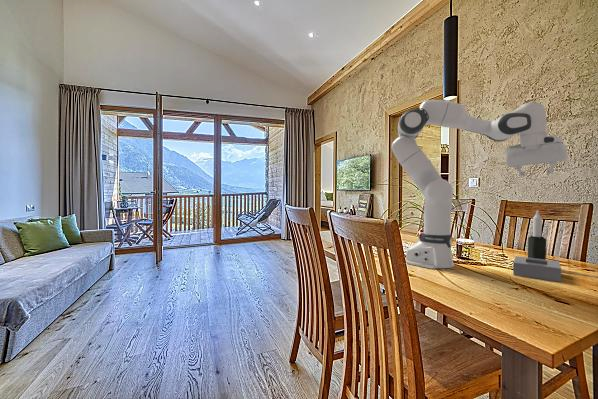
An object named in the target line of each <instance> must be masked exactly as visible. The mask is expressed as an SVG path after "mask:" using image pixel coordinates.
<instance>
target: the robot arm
mask: <svg viewBox="0 0 598 399" xmlns="http://www.w3.org/2000/svg"><path fill="white" fill-rule="evenodd" d="M547 123H548V121H547V112H546V108H545V105H543V103H540V102H528V103H527V102H526V103H523V104H521V105H520V106H519V107H518V108H515V110H513V111H510V112H508V113H506V114H503V115H501V116H500V117H499V118H497V119H494V120H486V119H482V118H478V117H473V116H471V115H469V114H468V112H467V108H466V107H465V106H464V105H463V104H460V103H458V102H455V101H449V100H441V99H426V100H424V101H423V102H421V104H420V105H419V106H418V107H417V108H413V109H409V110H407V111H405V112H404V113H403V114H402V115H401V116H400V118H399V120H398V123H397V130H396V131H397V138H395V139H394V140H393V141H392V143H391V151H392V153H393V155H394V157H395V158H396V160H397V162H398V163H399V164H400V166H401V167H402V169H403V170H404V171H405V172H406V174H407V175H408V176H409V177H410V179H411V181H412V182H413V183H414V184H415V186H416V188H417V189H418V191H420V193H421V194H422V195H423V197H424V203H423V205H424V208H423V232H421V233H420V234H418V239H419V240H418V241H416V242H415V243H413V244H412V245H410V246H409V247H407V249H406V252H405V256H406V262H407V263H406V264H408V265H413V266H417V267H421V268H427V269H431V270H434V269H451V268H454V267H455V263H454V261H453V255H452V245H453V238H452V234H451V225H452V224H451V221H452V220H451V215H452V208H453V196H454V195H453V194H454V191H453V190H454V189H453V186H452V184H451V183H450V182H449V181H448V180H446V179H443V178H442V176H441V175H440V173H439V172H438V170H437V169H436V168H435V166H434V165H433V163H432V162H431V160H430V159H429V157H428V156H427V155H426V154H425V152H424V151H423V150H422V148H420V146H419V145H418V144H417V143H418V142H417V141H416V138H418V136H420V134H421V132H422V131H423V129H424V127H425V126H428V125H429V126H431V125H434V126H437V127H442V128H443V127H444V128H450V129H456V130H457V129H458V130H462V131H463V130H464V131H467V132H471V133H476V134H480V135H482V136H485V137H486V138H488V139H489V140H491V141H493V142H497V143H499V142H504V141H507V140H508V139H510V138H511V137H513V136H516V135H519V139H520V140H519V141H520V143H519V144H515V145H509V146H508V147H507V148H505V155H506V156H505V165H506V167H512V168H513V167H515V169H516V171H517V172H518V175H519V177H524V176H526V172H525V171H523V170H522V166H530V165H539V164H549V165H550V167H549V169H548V168H547V169H546V174H547V175H552V174H554V169H555V167H556V166H557V163H558V162H566V161H567V160H568V159H569V155H568V154H569V153H568V149H567V145H566V144H565V143H563V142H564V138H563V137H560V136H554V135H548V131H547Z"/></svg>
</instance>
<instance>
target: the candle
mask: <svg viewBox="0 0 598 399" xmlns="http://www.w3.org/2000/svg"><path fill="white" fill-rule="evenodd" d="M539 212H540V211H539V209H537V210H536V212H535V215H534V216H533V217H532V235H530V236H528V237H527V257H528V258H537V259H545V260H547V238H546V237H545V236H542V231H543V230H542V229H543V227H542V226H543V217H542V216H541V215H540V213H539Z"/></svg>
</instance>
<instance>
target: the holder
mask: <svg viewBox="0 0 598 399" xmlns="http://www.w3.org/2000/svg"><path fill="white" fill-rule="evenodd" d="M512 264H513V271H512V273H513V276H516V277H517V276H518V277H523V278H531V279H538V280H539V279H540V280H545V281H551V282H558V283H561V282H562V267H561V262H560V261H559V260H552V259H546V260H545V259H537V258H528V256H527V257H526V256H517V255H516V256H515V257H514V259H513V263H512Z"/></svg>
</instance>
